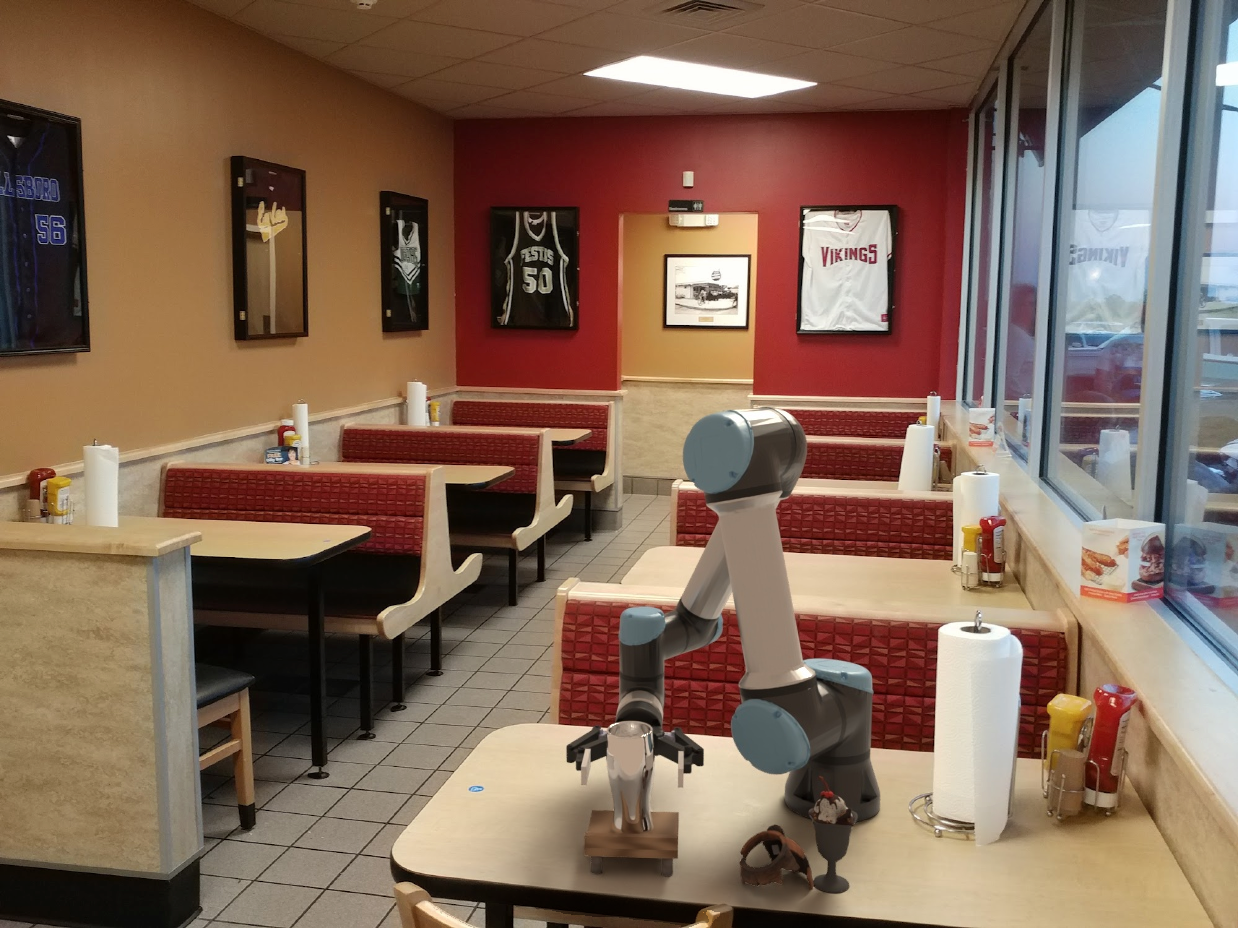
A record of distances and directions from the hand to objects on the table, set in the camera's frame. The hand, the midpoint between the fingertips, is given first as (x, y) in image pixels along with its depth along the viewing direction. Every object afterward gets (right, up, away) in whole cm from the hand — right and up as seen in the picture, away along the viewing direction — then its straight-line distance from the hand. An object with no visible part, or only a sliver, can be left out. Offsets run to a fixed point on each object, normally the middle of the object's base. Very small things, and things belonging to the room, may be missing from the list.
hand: (632, 777), depth 155 cm
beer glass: (0, -9, +5) cm, 10 cm away
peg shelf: (0, -13, +5) cm, 14 cm away
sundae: (+27, -14, -3) cm, 31 cm away
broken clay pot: (+20, -14, -2) cm, 25 cm away
